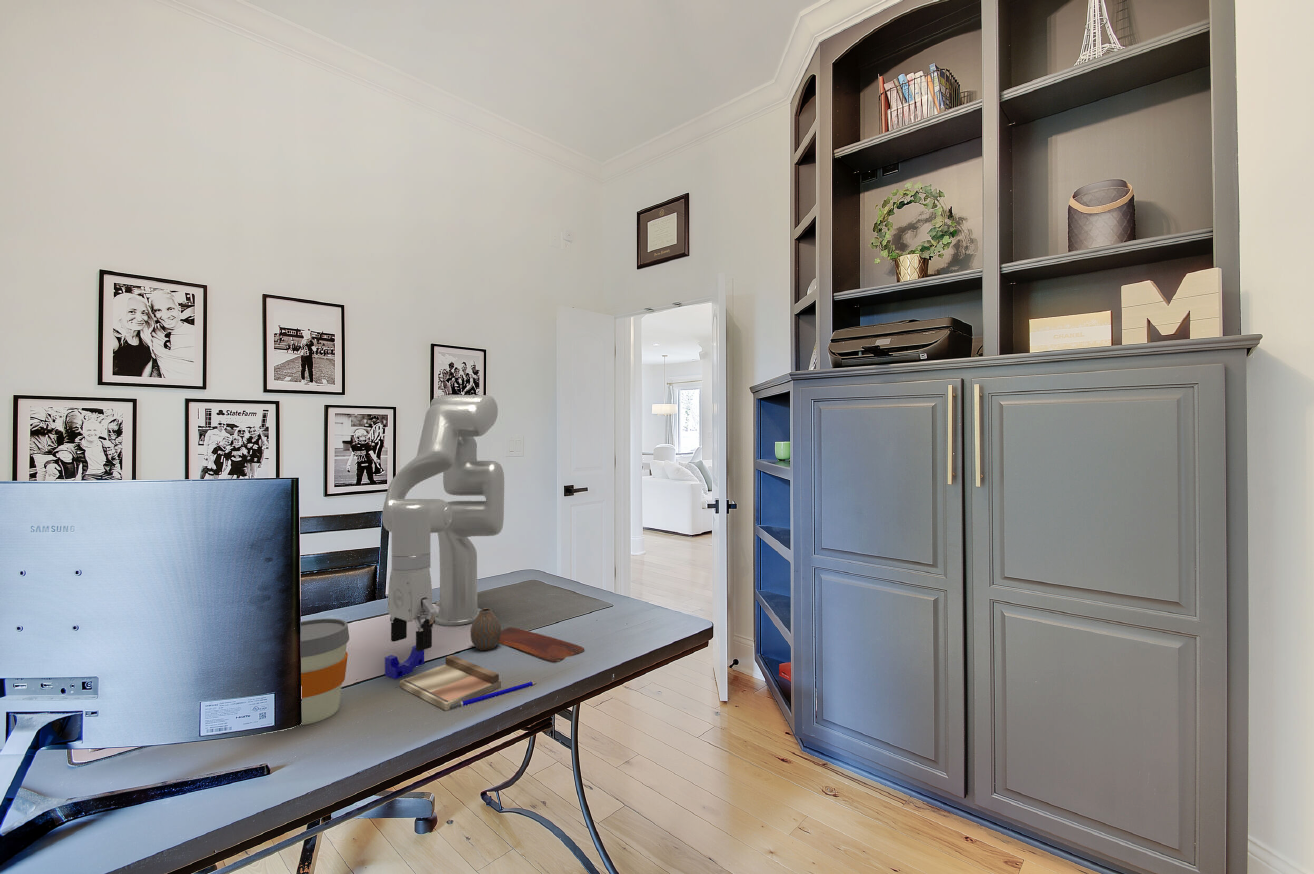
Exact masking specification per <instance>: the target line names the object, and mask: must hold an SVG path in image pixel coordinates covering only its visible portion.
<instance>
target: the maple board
mask: <svg viewBox="0 0 1314 874" xmlns="http://www.w3.org/2000/svg"><path fill="white" fill-rule="evenodd" d="M499 676H500V674H499V673H498V672H494V671H493V670H490V669H488V668H485V667H482V666H480V665H478V664H475V663H472V662H471V661H468V660H466V659H463V658H461V657H458V656H455V655H453V654H451V655H448V656H445V664H442V665H440V666H436V667H433V668H431V669H428V670H426V671H423V672H419V673H418V674H414V675H413V676H410V677H406V678H404V679H401V680H400V681H399V687H400V688H401V689H404V690H405V691H407V692H409V693H411V694H413V695H415V696H416V697H418V696H419V698H421V699H422V700H425V701H426V702H428V703H430V704H432V705H434V706H435V707H438V708H440V709H442V710H443V711H446V712H447V711H448V710H451V709H450V707H451V705H452V704H455V703H459V702H462V701H466V700H469V699H473V698H476V697H480V696H483V695H487V694H489V693H490V692H493V691H495V690H497V689H498V688H501V687H502V680H501V679H499Z"/></svg>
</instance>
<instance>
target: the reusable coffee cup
mask: <svg viewBox="0 0 1314 874" xmlns="http://www.w3.org/2000/svg"><path fill="white" fill-rule="evenodd" d="M300 622H301V686H302V725H301V726H304V725H305V726H306V725H310V724H314V723H317V722H321V721H323V720H325V719H328V718H329V717H331V716H333V715H334V714H335V713H337V711H338V710H339V708H340V702H341V693H342V685H343V683H344V681H346V672H347V666H348V665H347V664H348V659H349V653H348V651H347V647H348V646H347V645H348V642H349V641H350V632H349V625H348V624H349V623H348V622H347V621H346V620H344V619H340V618H314V619H309V620H302V621H300Z"/></svg>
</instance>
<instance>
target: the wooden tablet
mask: <svg viewBox="0 0 1314 874" xmlns="http://www.w3.org/2000/svg"><path fill="white" fill-rule="evenodd" d="M498 644H501V645H503V646H506V647H509V646H510V647H511V648H512V647H513V648H512V649H516V650H519V651H522V652H524V653H526V654H529V655H532V656H534V657H536V658H539V659H542V660H543V661H547V662H551V663H553V664H556V663H559V662H562V661H563V660H566V658H570V657H574V656H577V655H579V654H581V653H583V652H584V651H585V647H583V646H581V645H578V644H576V643H572V642H568V641H566V640H562V639H558V638H556V637H552V636H548V635H545V634H541V633H538V632H533V631H528V630H525V629H522V628H517V627H513V626H511V627H506V628H504V629H501V637H500V640H499V642H498Z"/></svg>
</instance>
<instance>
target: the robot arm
mask: <svg viewBox="0 0 1314 874" xmlns="http://www.w3.org/2000/svg"><path fill="white" fill-rule="evenodd" d="M498 415H499V407H498V403H497V401H496V400H495V399H494V397H492V396H491V395H487V394H486V395H485V394H484V395H483V394H470V395H469V394H447V395H445V394H444V395H440V396H437V397H434V398H433V399H432V400H431V401H430V405H429V408H428V409H427V411H426V413H425V417H424V420H423V426H422V428H421V429H422V430H421V434H420V439H419V443H418V448H417V453H416V455H415V457H414V458H413V459H412V460H410V461H409V462H408V463H406V464H405V465H404V467H402V468H401V469H400V470H399V471H398V472H397V474H396V475H395V476H393V478H392V480H391V481H390V482H389V485H388V487H387V492H386V494H385V499H384V503H383V507H382V516H381V518H382V520H381V521H382V526H383V527H384V529H385V530H386V531H388V532H389V533H391V570H390V575H389V581H388V594H387V613H388V614H389V615H390V617H389V621H390V622H391V623H390V641H391V642H393V643H395V642H397V641H402V640H405V639H407V637H408V630H407V629H408V627H407V626H408V625H407V624H408V622H414V623H415V624H414V625H416V626H415V627H416V629H417V631H415V645H416V651H418V652H419V651H422V650H424V651H425V650H429V649H431V648H432V647H433V629H434V625H435V624H437V625H439V626H462V625H467V624H472V623H473V621H474V620H475V619H476V617H477V616H478V614H479V612H480V610H481V608H479V607H478V553H477V549H476V547H475V545H474V544H473V542H472V541H471V539H469V537H470V538H471V537H494V536H497V535H499V534H500V533H501V532H502V530H503V526H504V519H505V518H504V516H505V515H504V514H505V513H504V512H505V473H504V468H503V467H502V465H501V464H500V463H499V462H498V461H495V460H478V457H477V456H478V455H477V453H478V452H477V451H478V443H477V441H476V439H475V438H478V437H482V436H485V434H487V432H488V431H489V430H490V429H491V428H492V427H493V426H494V424H495V423H496V421H497V419H498ZM439 474H442V476H443V477H442V478H443V479H442V483H443V484H442V485H443V490H444V492H446V494H447V495H451V496H457V497H458V496H460V497H461V496H462V497H464V496H465V497H466V496H467V497H468V496H469V497H470V496H471V497H472V496H473V497H475V496H476V497H477V496H478V497H479V496H483V497H484V498H485V500H453V501H446V500H443V499H440V498H406V496H407V494H408V493H409V492H410V491H411V490H412V488H414V487H415V486H416V485H418V484H420V483H422V482H423V481H426V480H428V479H430V478H432V477H435V476H437V475H439ZM431 534H437V536H438V547H439V548H438V549H439V550H438V551H439V600H437V601H436V602H435V606H437V607H439V608H438V609H439V611H437V609H436V608H435V606H433V590H432V589H433V588H432V577H431V570H430V569H431V568H432V567H431ZM422 620H424V621H423V622H422Z"/></svg>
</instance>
